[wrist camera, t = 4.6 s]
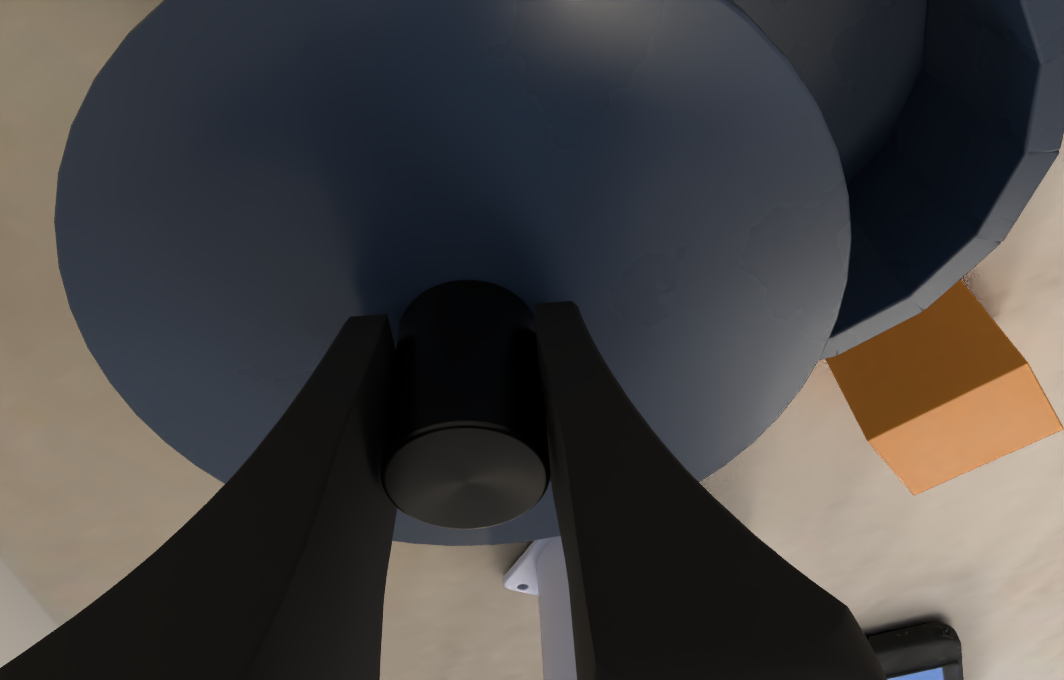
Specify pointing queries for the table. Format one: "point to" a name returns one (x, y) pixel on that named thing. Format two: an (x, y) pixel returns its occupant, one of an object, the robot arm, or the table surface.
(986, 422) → the orange block
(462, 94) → the lid
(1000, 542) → the table surface
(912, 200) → the pot
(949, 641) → the game console
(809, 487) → the table surface
